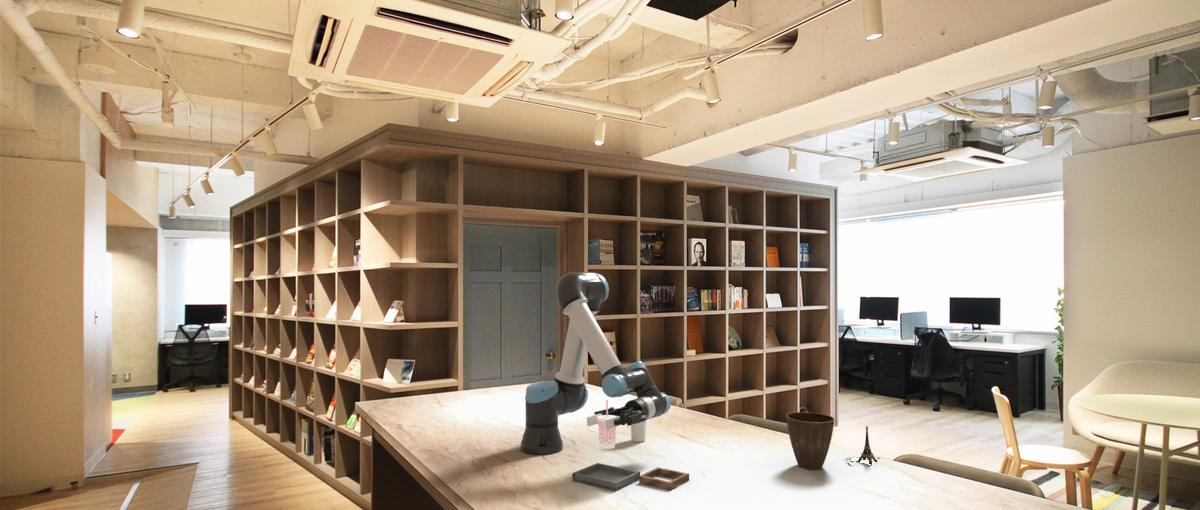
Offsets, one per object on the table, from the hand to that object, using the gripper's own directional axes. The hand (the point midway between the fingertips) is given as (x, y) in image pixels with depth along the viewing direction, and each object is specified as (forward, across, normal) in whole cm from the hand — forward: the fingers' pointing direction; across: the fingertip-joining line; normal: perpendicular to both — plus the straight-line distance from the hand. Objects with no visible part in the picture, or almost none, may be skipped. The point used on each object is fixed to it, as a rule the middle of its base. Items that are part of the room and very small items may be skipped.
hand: (597, 423), depth 185 cm
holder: (-14, -15, -18) cm, 27 cm away
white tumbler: (-50, +18, -18) cm, 56 cm away
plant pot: (-55, -45, -18) cm, 74 cm away
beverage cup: (-5, 0, -8) cm, 10 cm away
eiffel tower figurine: (-71, -59, -19) cm, 95 cm away
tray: (-5, 0, -18) cm, 19 cm away
